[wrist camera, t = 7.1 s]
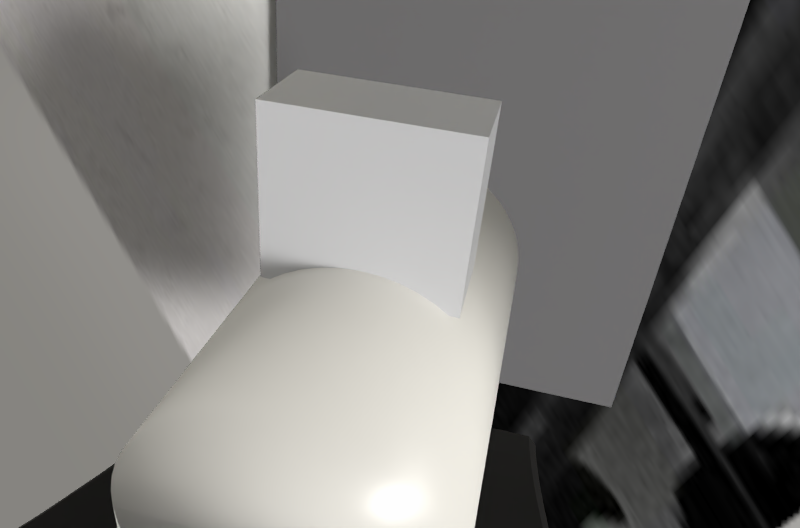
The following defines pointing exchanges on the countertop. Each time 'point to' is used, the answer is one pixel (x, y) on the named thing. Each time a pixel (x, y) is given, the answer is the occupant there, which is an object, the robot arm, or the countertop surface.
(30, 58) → the countertop surface
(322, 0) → the mat
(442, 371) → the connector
